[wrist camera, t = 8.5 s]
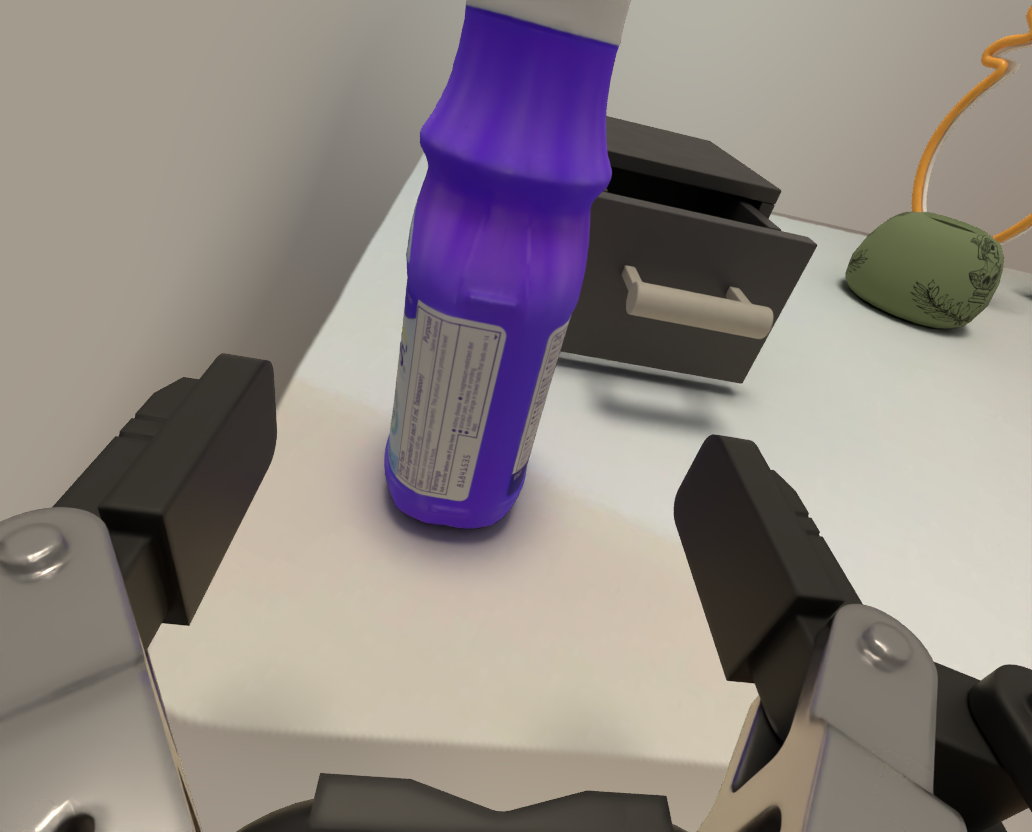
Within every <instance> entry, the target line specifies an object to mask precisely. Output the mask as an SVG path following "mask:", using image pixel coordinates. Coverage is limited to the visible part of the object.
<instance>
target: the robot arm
mask: <svg viewBox="0 0 1032 832" xmlns="http://www.w3.org/2000/svg"><path fill="white" fill-rule="evenodd" d="M276 439H277V423H276V405H275V388H274V372H273V366H272V364H271V362H270V361H267V360H261V359H255V358H249V357H243V356H237V355H231V354H220V355H219V356H218V357H217V358H216V359H215V360H214V362H213V363H212V364H211V365H210V367H209V368H208V369H207V370H206V372H205V373H204V374H203V375H202V377H201V378H200V379H192V378H186V377H183V378H181V379H179V380H177V381H175V382H174V383H172V384H170V385H168V386H166V387H164V388H162V389H160V390H159V391H157V392H155V393H154V394H153V395H152V396H151V397H150V398H149V399H148V400H147V402H146V403H145V404H144V405H143V406H142V407H141V408H140V409H139V410H138V412H137V413H136V414H135V418H134V419H133V418H131V419H130V421H129V422H128V423H127V424H126V425H125V426H124V427H123V428H122V430H121V431H120V434H119V437H117V436H116V437H115V438H114V439H113V440H112V441H111V442H110V443H109V444H108V445H107V446H106V448H105V449H104V450H103V451H102V452H101V453H100V454H99V455H98V457H97V458H96V459H95V460H94V461H93V462H92V463H91V464H90V465H89V467H88V468H87V469H86V470H85V471H84V472H83V473H82V475H81V476H80V477H79V478H78V479H77V480H76V481H75V482H74V484H73V485H72V486H71V487H70V488H69V489H68V490H67V491H66V492H65V494H64V495H63V496H62V497H61V498H60V499H59V500H58V501H57V503H56V504H55V505H54V506H53V507H52V508H44V509H38V510H34V511H29V512H25V513H22V514H19V515H16V516H13V517H10V518H8V519H6V520H3V521H1V522H0V832H202V828H201V825H200V822H199V818H198V815H197V812H196V809H195V805H194V802H193V799H192V796H191V792H190V789H189V786H188V783H187V780H186V777H185V774H184V770H183V767H182V764H181V760H180V757H179V754H178V751H177V747H176V744H175V740H174V737H173V733H172V730H171V727H170V723H169V720H168V716H167V713H166V710H165V706H164V703H163V700H162V696H161V693H160V689H159V686H158V683H157V679H156V676H155V673H154V669H153V666H152V663H151V659H150V656H149V653H148V650H147V649H148V647H149V645H150V643H151V641H152V639H153V638H154V636H155V634H156V632H157V630H158V629H159V627H160V625H161V623H167V624H177V625H187V626H189V625H190V623H191V621H192V619H193V617H194V615H195V613H196V611H197V609H198V607H199V605H200V603H201V601H202V599H203V597H204V595H205V593H206V591H207V589H208V587H209V585H210V583H211V581H212V579H213V577H214V575H215V573H216V571H217V569H218V567H219V565H220V563H221V561H222V559H223V557H224V555H225V553H226V551H227V549H228V547H229V545H230V543H231V541H232V539H233V537H234V535H235V533H236V531H237V529H238V527H239V526H240V524H241V522H242V520H243V518H244V516H245V514H246V512H247V510H248V508H249V506H250V504H251V502H252V500H253V498H254V496H255V494H256V492H257V490H258V488H259V486H260V484H261V482H262V480H263V478H264V476H265V474H266V472H267V470H268V468H269V466H270V464H271V461H272V458H273V455H274V451H275V446H276ZM808 514H809V513H808V511H807V509H806V508H805V506H804V504H803V503H802V501H801V499H800V498H799V496H798V494H797V493H796V491H795V490H794V489H793V488H792V487H791V486H790V485H789V484H788V483H787V482H786V481H785V480H784V479H783V478H782V477H781V476H779V475H778V474H777V473H776V472H775V471H774V470H770V468H769V466H768V464H767V463H766V461H765V459H764V457H763V456H762V454H761V452H760V450H759V449H758V447H757V445H756V444H755V443H754V442H753V441H751V440H745V439H739V438H733V437H727V436H721V435H714V434H713V435H710V436H709V437H707V438H706V440H705V441H704V443H703V444H702V446H701V448H700V450H699V452H698V454H697V455H696V457H695V459H694V461H693V463H692V465H691V467H690V469H689V470H688V472H687V474H686V476H685V478H684V480H683V482H682V484H681V485H680V487H679V489H678V491H677V494H676V497H675V502H674V520H675V524H676V527H677V530H678V533H679V536H680V539H681V542H682V545H683V548H684V551H685V554H686V558H687V561H688V564H689V567H690V570H691V573H692V576H693V579H694V582H695V585H696V588H697V591H698V594H699V597H700V600H701V603H702V606H703V609H704V613H705V616H706V619H707V622H708V625H709V628H710V631H711V634H712V637H713V640H714V643H715V646H716V649H717V652H718V655H719V658H720V661H721V664H722V668H723V671H724V674H725V677H726V680H727V681H736V682H746V683H755V685H756V688H757V691H758V693H759V696H758V697H757V698H756V699H755V700H754V701H753V702H752V704H751V706H750V708H749V711H748V713H747V716H746V719H745V722H744V724H743V727H742V730H741V733H740V735H739V738H738V741H737V744H736V746H735V749H734V752H733V755H732V758H731V760H730V763H729V766H728V769H727V771H726V774H725V777H724V780H723V782H722V785H721V788H720V791H719V793H718V796H717V799H716V801H715V803H714V805H713V807H712V808H711V810H710V812H709V814H708V815H707V817H706V818H705V820H704V821H703V822H702V824H701V825H700V827H699V829H698V830H697V832H1007V831H1006V829H1005V827H1004V826H1003V824H1002V822H1001V821H1003V820H1005V819H1007V818H1009V817H1011V816H1013V815H1015V814H1017V813H1019V812H1021V811H1023V810H1025V809H1027V808H1029V809H1030V810H1031V812H1032V670H1031V669H1028V668H1025V667H1022V666H1018V665H1010V664H1009V665H1003V666H1001V667H999V668H997V669H996V670H995V671H993V672H992V673H991V674H989V675H988V676H987V677H985V678H984V679H982V680H981V681H980V680H978V679H975V678H973V677H970V676H968V675H965V674H963V673H960V672H958V671H956V670H953V669H951V668H948V667H946V666H943V665H941V664H938V663H936V662H933V659H932V657H931V656H930V654H929V652H928V651H927V649H926V648H925V647H924V645H923V644H922V643H921V641H920V640H919V639H918V638H917V637H916V636H915V635H914V634H913V633H912V632H911V631H910V630H909V629H908V628H907V627H905V626H904V625H903V624H901V623H900V622H899V621H898V620H896V619H895V618H893V617H891V616H890V615H888V614H886V613H884V612H883V611H881V610H878V609H876V608H873V607H870V606H867V605H863V604H862V602H861V600H860V599H859V597H858V595H857V594H856V592H855V590H854V589H853V587H852V585H851V584H850V582H849V580H848V579H847V577H846V575H845V573H844V572H843V570H842V568H841V567H840V565H839V563H838V562H837V560H836V558H835V557H834V555H833V553H832V552H831V550H830V548H829V547H828V545H827V543H826V541H825V540H824V538H823V537H821V536H819V533H820V531H819V530H818V528H817V526H816V525H815V523H814V521H813V520H812V518H809V517H808ZM237 832H687V831H685V830H683V829H682V828H680V827H678V826H676V825H673V824H672V821H671V816H670V811H669V806H668V802H667V797H666V796H660V795H645V794H630V793H614V792H599V791H584V792H580V793H577V794H572V795H569V796H565V797H561V798H557V799H553V800H549V801H545V802H541V803H538V804H534V805H530V806H526V807H522V808H519V809H515V810H511V811H506V812H502V811H495V810H491V809H489V808H486V807H483V806H481V805H478V804H475V803H473V802H470V801H467V800H465V799H462V798H459V797H457V796H454V795H452V794H449V793H446V792H444V791H441V790H438V789H436V788H433V787H430V786H428V785H425V784H422V783H420V782H417V781H414V780H412V779H401V778H385V777H371V776H354V775H340V774H325V773H320V776H319V781H318V785H317V789H316V793H315V797H314V799H311V800H307V801H303V802H299V803H295V804H292V805H290V806H287V807H285V808H282V809H279V810H276V811H274V812H271V813H269V814H267V815H265V816H263V817H261V818H259V819H257V820H256V821H254V822H252V823H250V824H248V825H246V826H244V827H243V828H241V829H240V830H238V831H237Z"/></svg>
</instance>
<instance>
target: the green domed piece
mask: <svg viewBox="0 0 1032 832" xmlns="http://www.w3.org/2000/svg"><path fill="white" fill-rule="evenodd" d="M1003 263H1004V255H1003V251H1002V248H1001V245H1000V244H999V243H998V242H997V241H996V240H995V239H994V238H993V237H991V236H990V235H989V234H988V233H986V232H985V231H983V230H981V229H979V228H977V227H974V226H972V225H969V224H967V223H964V222H961V221H958V220H955V219H952V218H949V217H946V216H942V215H938V214H934V213H929V212H905V213H901V214H898V215H896V216H894V217H892V218H890V219H889V220H887V221H886V222H884V223H883V224H881V225H880V226H879V227H878V228H876V229H875V230H874V231H873V232H872V233H871V234H869V235H868V236H867V237H866V239H865V240H864V241H863V242H862V243H861V245H860V246H859V247H858V248H857V249H856V251H855V252H854V253H853V254H852V257H851V259H850V262H849V265H848V268H847V270H846V280H847V283H848V285H849V287H850V289H851V290H852V291H853V292H854V293H855V294H856V295H857V296H858V297H860V298H862V299H863V300H865V301H866V302H868V303H870V304H871V305H873V306H875V307H877V308H879V309H881V310H883V311H885V312H887V313H890V314H892V315H894V316H897V317H900V318H902V319H905V320H908V321H911V322H913V323H917V324H921V325H925V326H929V327H933V328H944V329H950V328H955V327H961V326H964V325H966V324H968V323H969V322H971V321H972V320H973V319H974V318H975V317H976V316H977V315H978V314H979V313H981V312H982V311H983V310H984V309H985V308H986V307H987V306H988V304H989V302H990V300H991V298H992V296H993V295H994V293H995V291H996V289H997V287H998V285H999V282H1000V278H1001V274H1002V271H1003Z"/></svg>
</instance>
